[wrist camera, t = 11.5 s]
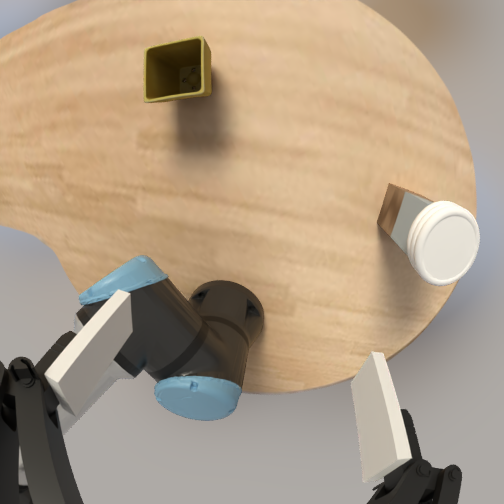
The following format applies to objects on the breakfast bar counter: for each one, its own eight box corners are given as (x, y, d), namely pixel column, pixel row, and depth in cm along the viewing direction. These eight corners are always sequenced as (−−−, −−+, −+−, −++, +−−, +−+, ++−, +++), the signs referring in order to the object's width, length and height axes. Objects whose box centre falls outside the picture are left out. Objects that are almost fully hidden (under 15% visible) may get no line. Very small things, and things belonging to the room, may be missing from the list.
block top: (426, 248, 36) (447, 268, 29) (390, 236, 36) (408, 257, 30) (441, 205, 33) (466, 220, 27) (405, 191, 33) (427, 204, 27)
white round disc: (420, 188, 26) (434, 195, 23) (476, 212, 26) (491, 221, 23) (393, 266, 30) (403, 280, 27) (449, 280, 30) (461, 293, 27)
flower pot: (168, 107, 39) (142, 103, 31) (168, 61, 35) (143, 47, 27) (220, 101, 38) (204, 93, 30) (220, 52, 34) (204, 34, 26)
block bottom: (409, 232, 42) (426, 248, 36) (376, 222, 42) (390, 237, 36) (422, 195, 39) (442, 206, 33) (389, 183, 39) (405, 191, 33)
